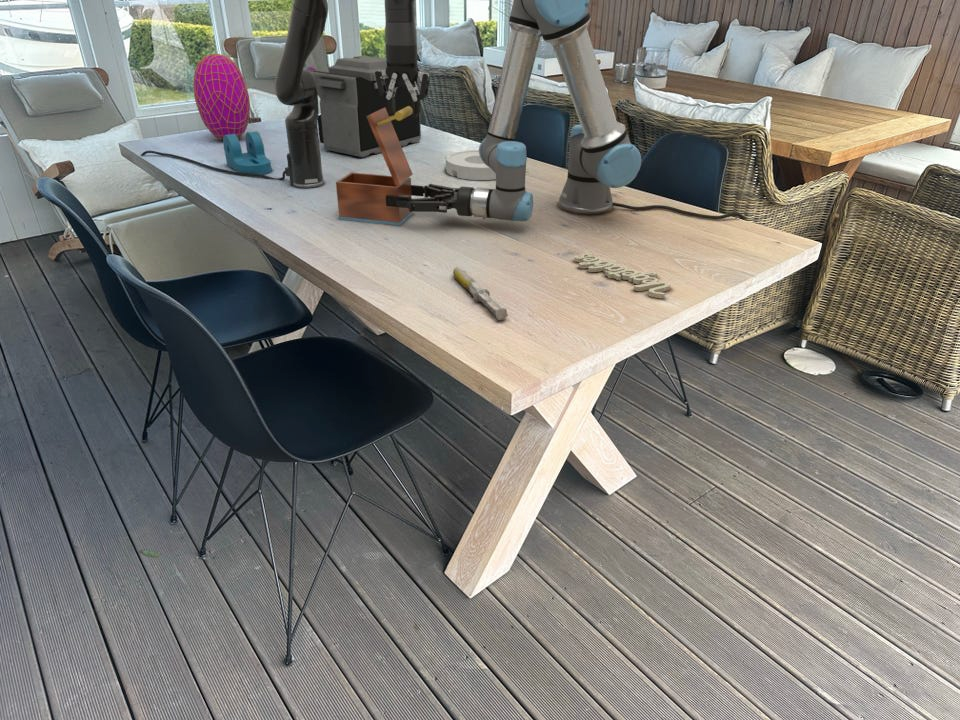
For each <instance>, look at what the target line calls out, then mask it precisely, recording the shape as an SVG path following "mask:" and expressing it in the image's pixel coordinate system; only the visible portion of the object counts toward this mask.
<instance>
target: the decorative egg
mask: <svg viewBox="0 0 960 720" xmlns="http://www.w3.org/2000/svg"><path fill="white" fill-rule="evenodd" d="M193 96H194V101H195V105H196V107H197V111H198V113H199V116H200V118H201V119H200V120H201V121H202V122H203V124H204V126H205V127H206V128H207V130H208V131H209V132H210V133H211V135H212V136H214V137H215V138H217V139H219V140H223V137H224V135H230V134H235V135H236V136H237V138H238V139H239V138H241V137H242V136H243V135H244V133H245V132H246V130H247V128H248V125H249V121H250V115H251V101H250V94H249V90H248V86H247V83H246V80H245V78H244V75H243V73H242V72H241V70H240V68H239V67H238V66H237V64H236V63H235V62H234V60H233V59H231V58H229V57H228V56H227V55H224V54H221V53H211V54H207V55H205V56H203V57H202V58H201V59H200V60H199V61H198V62H197V65H196V67H195V69H194V73H193Z"/></svg>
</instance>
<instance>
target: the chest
mask: <svg viewBox="0 0 960 720" xmlns="http://www.w3.org/2000/svg"><path fill="white" fill-rule="evenodd" d="M411 185H412V178H411V177H409V178H408V179H406V180H405V181H404V182H402V183H401V184H400V185H397V186H396V185H395V183H394V181H393V178H392V176H391V175H384V174H373V173H361V172H352V171H351V172H350V173H348V174H347V175H345V176H343V177H342V178H340V179H338V180H337V181H336V182H335V187H336V197H337V199H336V200H337V207H338V209H337V210H338V219H339V220H343V221H344V220H345V221H354V222H364V223H373V224H382V225H391V226H402V224H403V223H404V222H405V221H407V220H408V219H409V218H411V216H412V215H413V212H409V208H401V207H391V206H386V195H390V196H401V197H409V196H411V199H413V198H412V197H413V196H412V194H411Z"/></svg>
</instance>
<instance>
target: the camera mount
mask: <svg viewBox="0 0 960 720" xmlns="http://www.w3.org/2000/svg"><path fill="white" fill-rule="evenodd" d="M222 140H223V141H222V143H223V149H224V150H223V151H224V156H225V161H226V165H227V166H228V167H230V168H231V169H232V170H233V171H235V172H242V173H250V174H261V175H265V174H268V173H271V172H272V164H271V159H270V158H268V157H267V156H266V153H265V145H264V141H263V139H262V136H261V134H260V132H258V131H247V132H246V133H245V146H246V152H243V151H242V150H243V149H242V146H241V142H240V140H239V138H237V136H236V135H235V134H230V135H224V137H223V139H222Z"/></svg>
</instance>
